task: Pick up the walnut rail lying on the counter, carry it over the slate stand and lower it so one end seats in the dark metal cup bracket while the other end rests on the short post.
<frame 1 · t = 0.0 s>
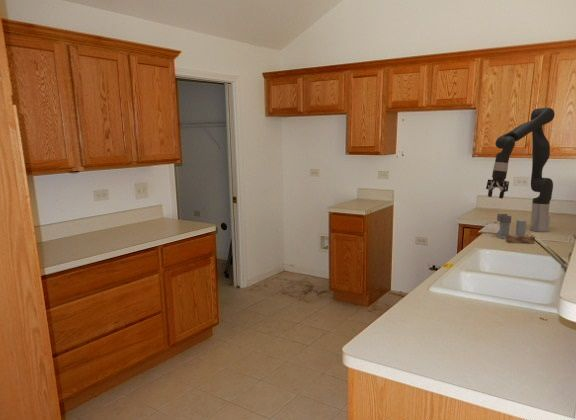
hand: (495, 197, 245), 22 cm above the countertop, tool pointing down, fingers open, 8 cm apart
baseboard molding: (490, 230, 264), on the countertop
rail: (520, 243, 226), on the countertop
bracket stand: (512, 237, 239), on the countertop
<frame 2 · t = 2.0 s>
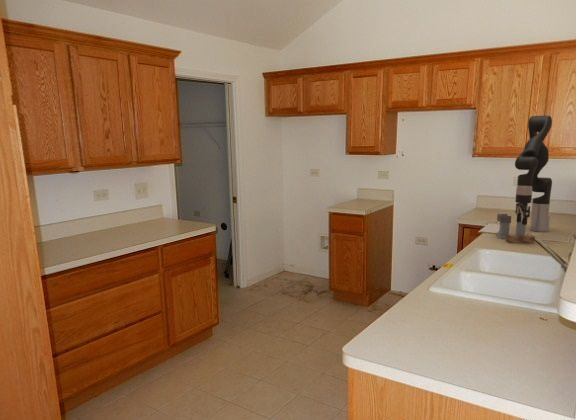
hand: (521, 223, 225), 11 cm above the countertop, tool pointing down, fingers open, 8 cm apart
nothing on the countertop moved.
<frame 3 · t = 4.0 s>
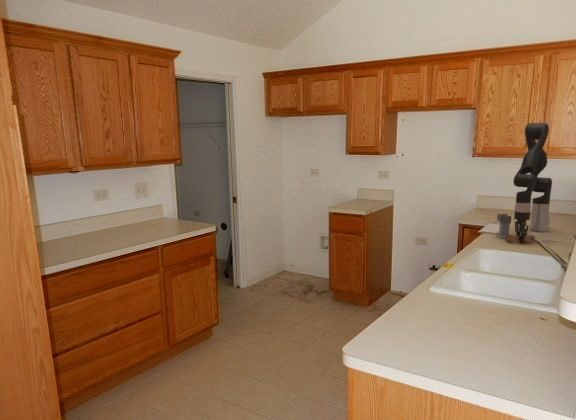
hand: (520, 241, 226), 1 cm above the countertop, tool pointing down, fingers closed on rail, 4 cm apart
rail: (519, 242, 226), on the countertop, touching gripper
everything else where it was.
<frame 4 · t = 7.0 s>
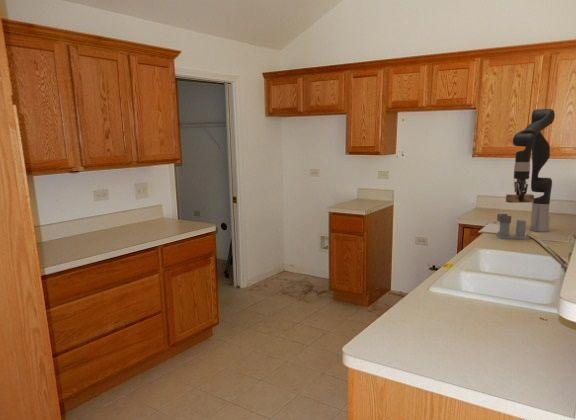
hand: (519, 200, 230), 22 cm above the countertop, tool pointing down, fingers closed on rail, 4 cm apart
rail: (519, 202, 230), point 22 cm above the countertop, touching gripper
everything else where it was.
when the fingers open (12 cm above the countertop, at t = 10.4 s): rail stays where it is, resting on bracket stand.
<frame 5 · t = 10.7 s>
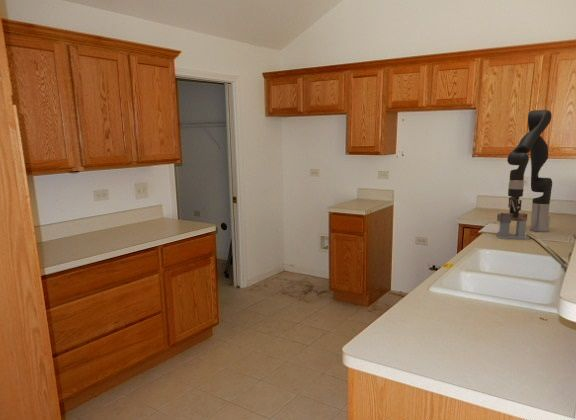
hand: (513, 216, 237), 12 cm above the countertop, tool pointing down, fingers open, 7 cm apart
rail: (513, 220, 237), point 10 cm above the countertop, touching bracket stand
everything else where it was.
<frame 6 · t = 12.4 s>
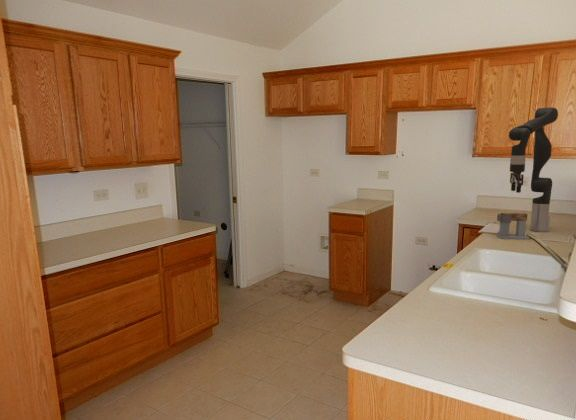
hand: (515, 191, 238), 27 cm above the countertop, tool pointing down, fingers open, 8 cm apart
nothing on the countertop moved.
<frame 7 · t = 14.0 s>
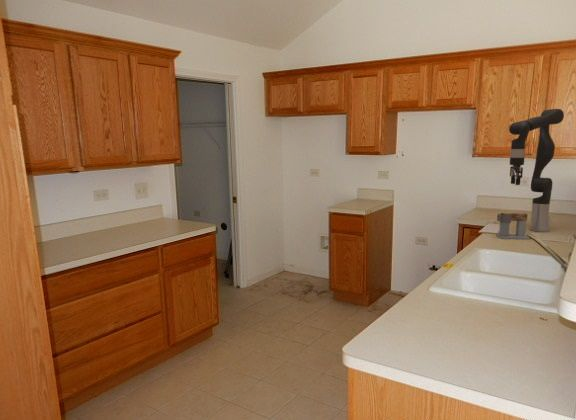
hand: (515, 184, 245), 30 cm above the countertop, tool pointing down, fingers open, 8 cm apart
nothing on the countertop moved.
at the end: rail 0.1 cm off-centre on the bracket stand, point 10.2 cm above the bracket stand's base; rail tilted 0°; the gripper is holding nothing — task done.
